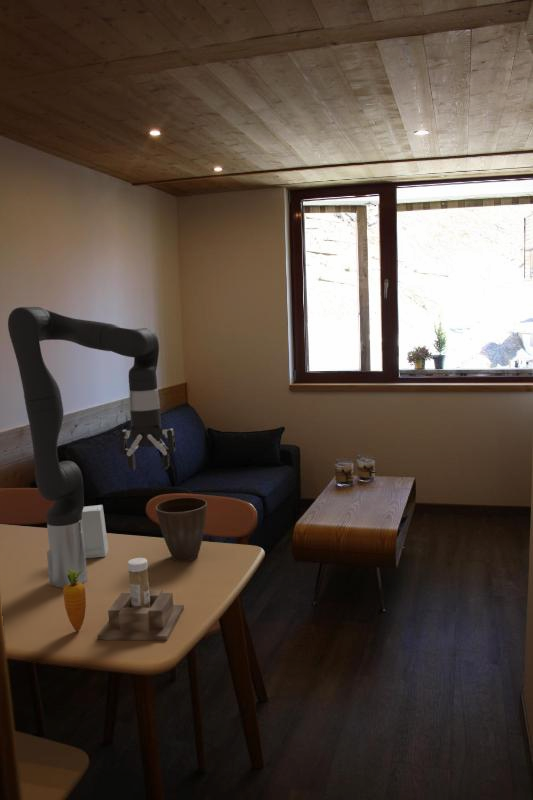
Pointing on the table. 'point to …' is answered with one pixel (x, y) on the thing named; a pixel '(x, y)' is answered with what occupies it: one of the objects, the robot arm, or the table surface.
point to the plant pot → (182, 526)
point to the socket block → (142, 618)
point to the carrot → (75, 600)
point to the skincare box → (94, 531)
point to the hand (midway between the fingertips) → (149, 469)
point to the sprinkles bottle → (139, 583)
